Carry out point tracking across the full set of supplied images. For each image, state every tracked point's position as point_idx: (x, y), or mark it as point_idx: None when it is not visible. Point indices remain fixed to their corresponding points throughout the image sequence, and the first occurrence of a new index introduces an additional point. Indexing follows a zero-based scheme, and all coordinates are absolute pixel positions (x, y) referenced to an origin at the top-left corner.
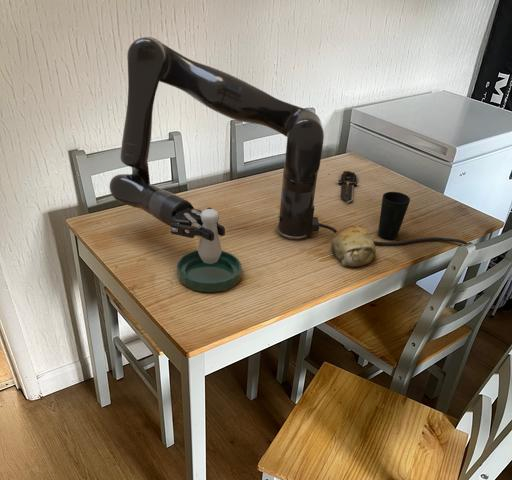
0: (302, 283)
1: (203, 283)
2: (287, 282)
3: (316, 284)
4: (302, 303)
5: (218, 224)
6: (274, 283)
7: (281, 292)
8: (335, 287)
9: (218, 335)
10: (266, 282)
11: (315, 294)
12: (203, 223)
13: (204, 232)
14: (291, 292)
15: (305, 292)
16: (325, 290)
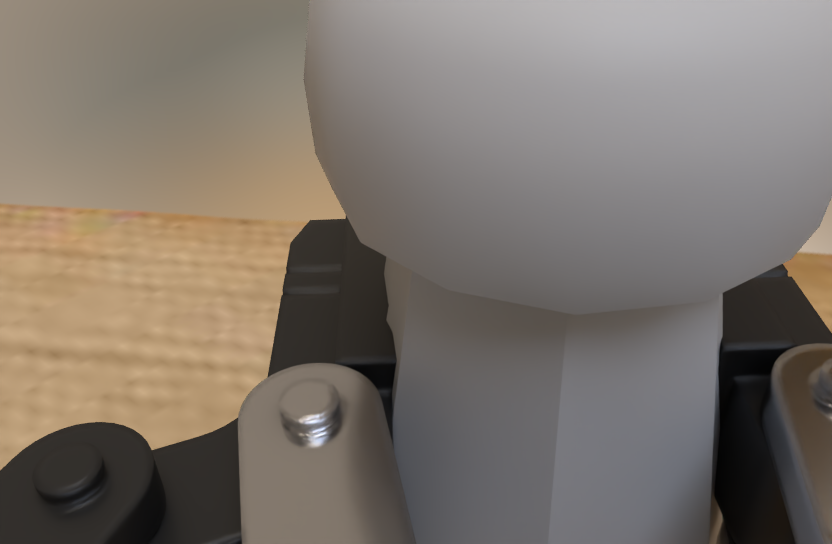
0: (66, 305)
1: None
2: (109, 352)
3: (32, 267)
4: (259, 222)
5: (349, 262)
6: (175, 387)
7: (242, 314)
8: (9, 216)
9: (829, 269)
10: (200, 422)
11: (137, 230)
12: (719, 302)
13: (764, 282)
14: (202, 289)
15: (151, 257)
16: (68, 225)
